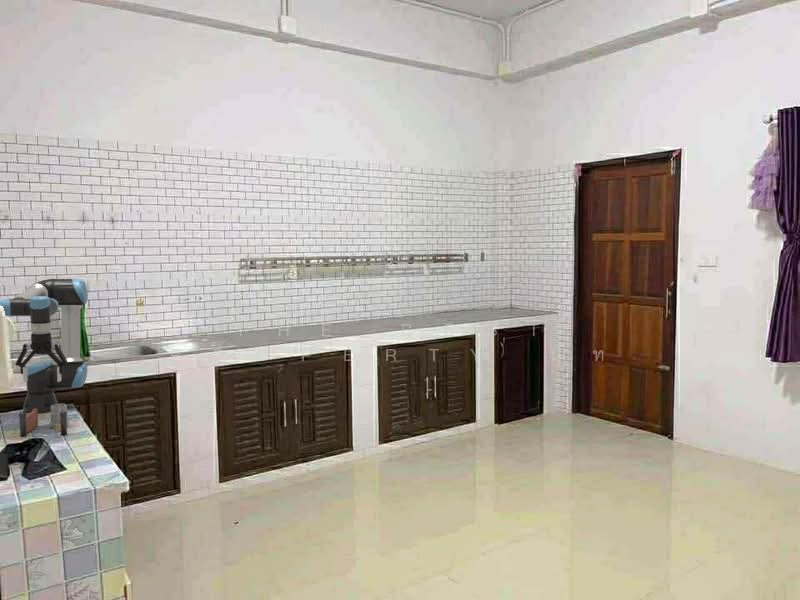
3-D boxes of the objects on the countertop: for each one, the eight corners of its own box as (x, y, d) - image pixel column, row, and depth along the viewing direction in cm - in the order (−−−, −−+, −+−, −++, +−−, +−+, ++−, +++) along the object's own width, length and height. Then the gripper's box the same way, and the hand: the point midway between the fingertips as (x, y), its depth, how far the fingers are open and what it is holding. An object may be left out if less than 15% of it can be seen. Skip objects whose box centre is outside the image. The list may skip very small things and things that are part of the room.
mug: (68, 423, 301) (67, 398, 299) (69, 430, 290) (68, 404, 289) (49, 425, 297) (48, 399, 296) (49, 432, 287) (49, 405, 285)
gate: (26, 433, 282) (26, 416, 282) (22, 434, 282) (22, 416, 281) (37, 425, 295) (37, 408, 295) (34, 425, 295) (33, 408, 294)
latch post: (58, 434, 285) (58, 410, 284) (68, 433, 285) (67, 410, 284) (56, 436, 281) (55, 412, 280) (65, 436, 282) (65, 412, 281)
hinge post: (21, 435, 282) (20, 411, 281) (28, 435, 282) (27, 411, 281) (18, 437, 279) (17, 412, 278) (25, 436, 280) (24, 412, 279)
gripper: (5, 334, 274) (7, 383, 276) (69, 333, 278) (70, 382, 280) (13, 331, 282) (14, 379, 284) (74, 331, 286) (76, 379, 288)
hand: (42, 381), depth 282 cm, fingers open, 13 cm apart
